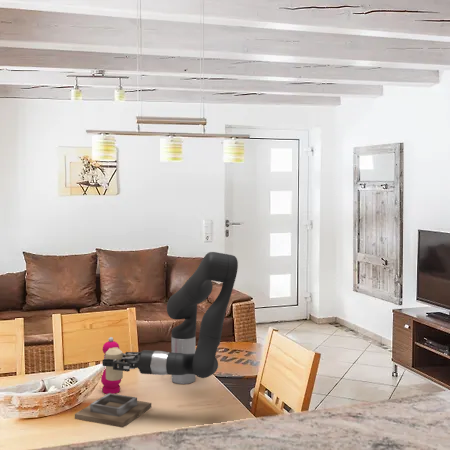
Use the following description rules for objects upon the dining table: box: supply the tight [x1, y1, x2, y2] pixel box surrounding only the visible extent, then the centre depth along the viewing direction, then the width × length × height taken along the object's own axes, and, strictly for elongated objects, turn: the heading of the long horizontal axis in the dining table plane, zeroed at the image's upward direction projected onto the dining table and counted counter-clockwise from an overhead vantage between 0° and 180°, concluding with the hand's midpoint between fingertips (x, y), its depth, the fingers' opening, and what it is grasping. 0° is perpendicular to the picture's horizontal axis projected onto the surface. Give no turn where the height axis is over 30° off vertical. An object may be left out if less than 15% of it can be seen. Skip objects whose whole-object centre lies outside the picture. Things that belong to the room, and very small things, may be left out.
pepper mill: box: [100, 336, 122, 395], centre depth 213 cm, size 7×7×20 cm
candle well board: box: [74, 393, 152, 428], centre depth 193 cm, size 18×18×4 cm
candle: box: [104, 347, 124, 381], centre depth 192 cm, size 6×6×10 cm
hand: (106, 359), depth 192 cm, fingers closed on candle, 5 cm apart
